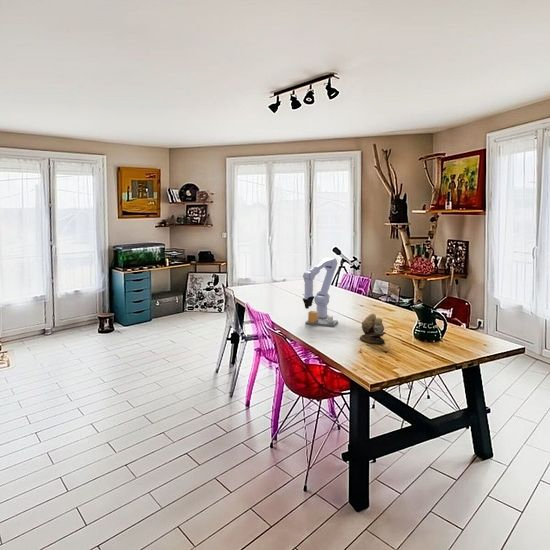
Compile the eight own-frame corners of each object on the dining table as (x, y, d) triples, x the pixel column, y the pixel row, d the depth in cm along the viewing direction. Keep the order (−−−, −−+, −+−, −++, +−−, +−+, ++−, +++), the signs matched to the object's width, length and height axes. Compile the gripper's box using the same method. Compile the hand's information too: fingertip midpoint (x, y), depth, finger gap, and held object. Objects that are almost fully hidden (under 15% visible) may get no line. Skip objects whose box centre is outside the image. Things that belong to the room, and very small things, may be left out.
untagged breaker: (328, 321, 301) (328, 315, 300) (332, 322, 300) (333, 316, 299) (327, 322, 298) (327, 316, 297) (331, 323, 297) (332, 317, 296)
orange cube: (310, 319, 307) (310, 310, 306) (318, 320, 305) (318, 311, 304) (308, 320, 301) (308, 312, 301) (316, 321, 299) (316, 312, 299)
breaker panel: (310, 320, 310) (310, 317, 310) (337, 322, 303) (337, 319, 303) (305, 324, 299) (305, 320, 299) (334, 326, 292) (334, 323, 292)
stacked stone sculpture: (391, 343, 257) (392, 315, 254) (377, 346, 251) (378, 317, 248) (368, 335, 272) (369, 309, 269) (354, 339, 265) (355, 311, 263)
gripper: (306, 286, 314) (305, 304, 316) (300, 289, 301) (300, 309, 303) (315, 287, 312) (315, 305, 314) (310, 290, 298) (309, 309, 300)
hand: (308, 307), depth 308 cm, fingers open, 7 cm apart
